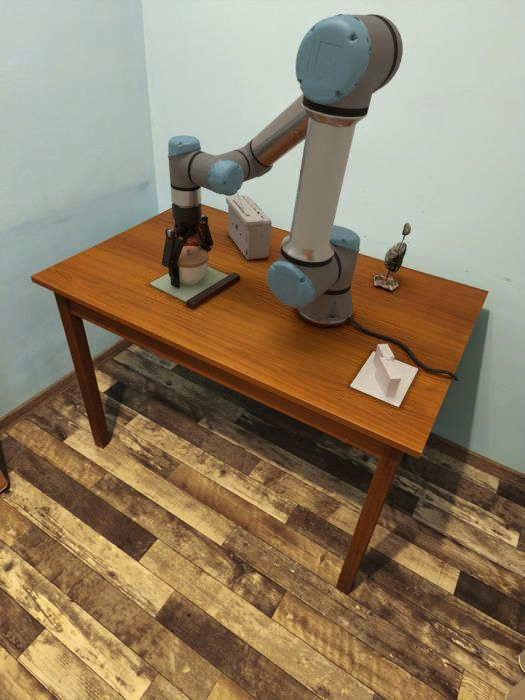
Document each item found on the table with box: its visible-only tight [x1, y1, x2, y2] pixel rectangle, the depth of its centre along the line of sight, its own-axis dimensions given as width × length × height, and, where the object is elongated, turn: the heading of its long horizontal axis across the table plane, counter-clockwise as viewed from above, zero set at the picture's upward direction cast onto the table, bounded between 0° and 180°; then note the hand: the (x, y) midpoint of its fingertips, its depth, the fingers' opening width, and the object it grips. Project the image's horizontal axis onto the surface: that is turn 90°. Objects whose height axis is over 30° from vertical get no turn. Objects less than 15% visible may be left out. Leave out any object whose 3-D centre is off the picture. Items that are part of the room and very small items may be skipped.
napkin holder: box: [349, 343, 419, 408], centre depth 102 cm, size 15×11×6 cm
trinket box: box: [172, 246, 209, 285], centre depth 127 cm, size 11×11×9 cm
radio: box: [225, 190, 273, 261], centre depth 143 cm, size 21×8×20 cm, turn 22°
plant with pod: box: [373, 222, 412, 291], centre depth 131 cm, size 8×11×20 cm
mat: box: [149, 266, 229, 304], centre depth 130 cm, size 14×18×1 cm
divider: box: [185, 271, 241, 310], centre depth 126 cm, size 2×20×2 cm, turn 144°
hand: (189, 278), depth 130 cm, fingers closed on trinket box, 11 cm apart
